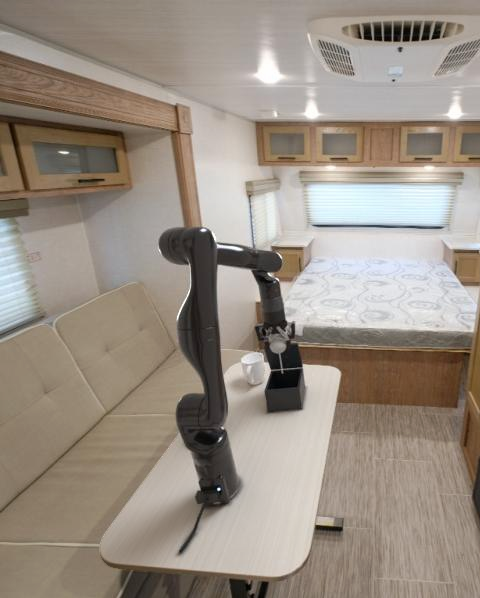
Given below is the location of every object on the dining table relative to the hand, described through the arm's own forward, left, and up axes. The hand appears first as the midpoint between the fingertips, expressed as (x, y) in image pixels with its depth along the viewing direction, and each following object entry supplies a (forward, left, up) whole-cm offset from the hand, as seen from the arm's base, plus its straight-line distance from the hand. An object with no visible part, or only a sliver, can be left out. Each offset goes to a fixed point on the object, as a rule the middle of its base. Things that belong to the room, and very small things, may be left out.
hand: (278, 348), depth 126 cm
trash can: (+2, 0, -24) cm, 24 cm away
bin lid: (+6, 0, -7) cm, 9 cm away
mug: (+15, +15, -24) cm, 32 cm away
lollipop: (0, 0, -11) cm, 11 cm away
